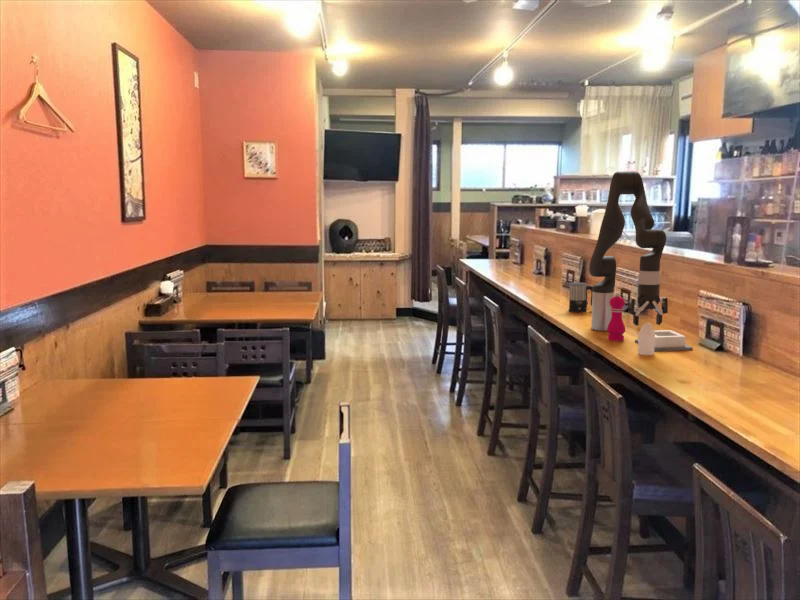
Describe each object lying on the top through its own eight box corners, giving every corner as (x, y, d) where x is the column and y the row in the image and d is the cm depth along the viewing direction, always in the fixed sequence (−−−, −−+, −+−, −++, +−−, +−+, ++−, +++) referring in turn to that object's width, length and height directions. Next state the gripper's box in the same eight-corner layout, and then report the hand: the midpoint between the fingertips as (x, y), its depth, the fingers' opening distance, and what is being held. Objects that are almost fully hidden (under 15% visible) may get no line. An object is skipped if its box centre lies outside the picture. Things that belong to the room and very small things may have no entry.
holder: (634, 341, 255) (635, 330, 254) (672, 340, 256) (673, 328, 255) (652, 351, 239) (653, 338, 239) (692, 349, 240) (693, 337, 239)
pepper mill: (622, 337, 263) (624, 291, 260) (626, 341, 256) (628, 294, 253) (605, 337, 264) (606, 291, 260) (609, 341, 257) (610, 294, 253)
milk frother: (573, 313, 320) (574, 284, 318) (559, 308, 335) (559, 281, 333) (598, 311, 323) (599, 283, 321) (582, 306, 338) (583, 279, 336)
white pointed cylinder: (642, 324, 231) (636, 321, 237) (641, 355, 233) (635, 352, 239) (658, 324, 232) (651, 321, 237) (656, 355, 234) (650, 351, 239)
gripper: (662, 280, 236) (661, 322, 238) (626, 281, 235) (624, 323, 238) (672, 283, 228) (670, 326, 231) (634, 284, 228) (633, 327, 230)
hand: (647, 324), depth 234 cm, fingers open, 8 cm apart
